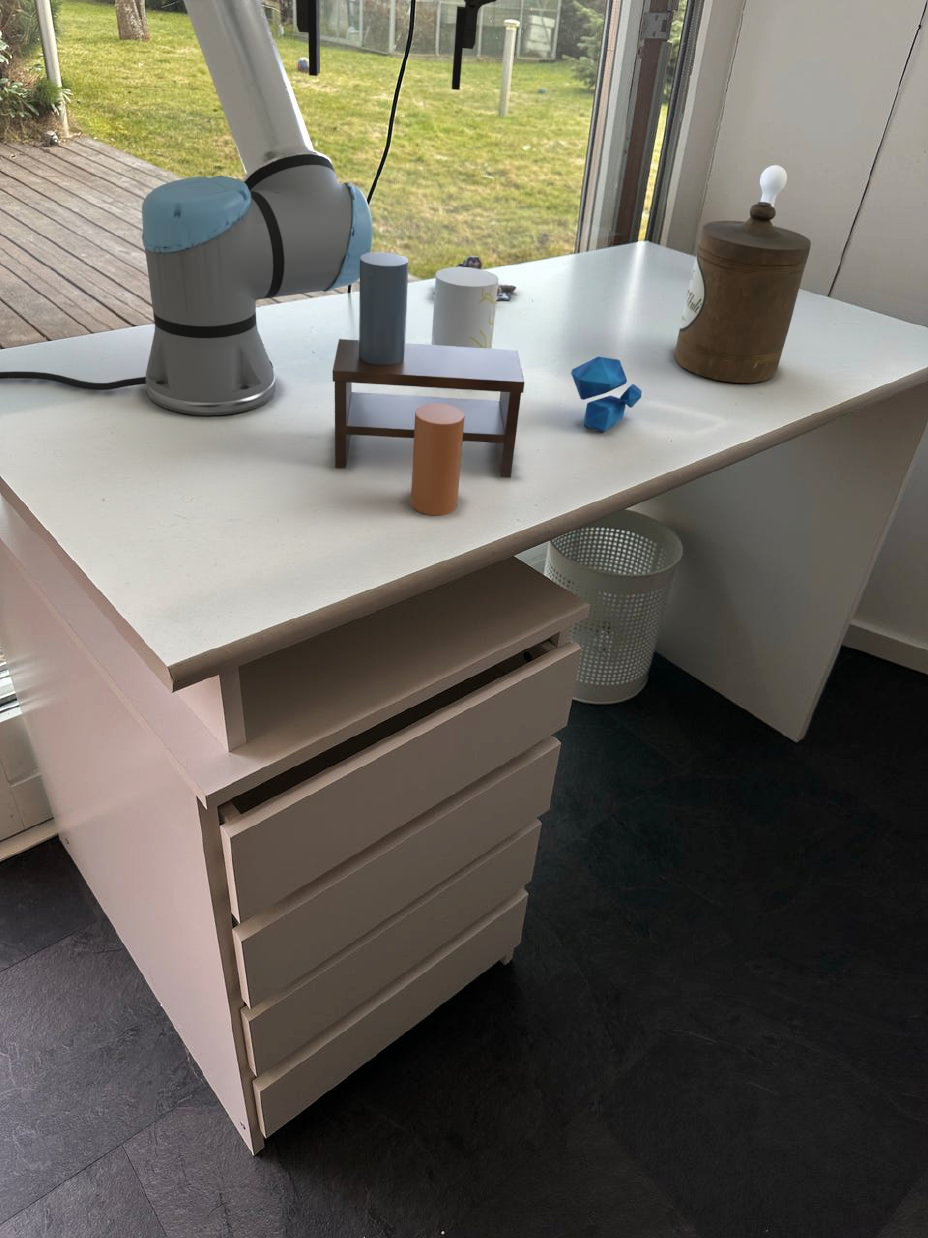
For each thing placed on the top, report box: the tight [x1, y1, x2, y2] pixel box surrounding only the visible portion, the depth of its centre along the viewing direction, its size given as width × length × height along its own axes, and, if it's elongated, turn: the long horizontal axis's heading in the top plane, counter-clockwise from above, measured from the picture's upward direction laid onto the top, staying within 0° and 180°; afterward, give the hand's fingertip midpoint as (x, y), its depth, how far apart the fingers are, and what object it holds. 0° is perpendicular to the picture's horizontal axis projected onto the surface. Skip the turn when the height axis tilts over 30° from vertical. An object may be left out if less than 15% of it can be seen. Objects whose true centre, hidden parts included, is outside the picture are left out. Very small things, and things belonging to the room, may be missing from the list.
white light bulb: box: [759, 164, 788, 222], centre depth 161 cm, size 11×8×20 cm
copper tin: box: [410, 404, 465, 516], centre depth 92 cm, size 5×5×10 cm
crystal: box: [570, 356, 642, 433], centre depth 112 cm, size 7×9×12 cm
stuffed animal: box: [432, 254, 517, 301], centre depth 150 cm, size 12×10×12 cm
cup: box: [430, 266, 499, 349], centre depth 122 cm, size 8×8×12 cm
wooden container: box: [673, 201, 812, 384], centre depth 128 cm, size 15×15×22 cm
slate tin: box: [358, 251, 409, 365], centre depth 94 cm, size 5×5×10 cm
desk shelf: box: [332, 338, 525, 478], centre depth 100 cm, size 20×9×11 cm, turn 92°
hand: (385, 81), depth 89 cm, fingers open, 13 cm apart
